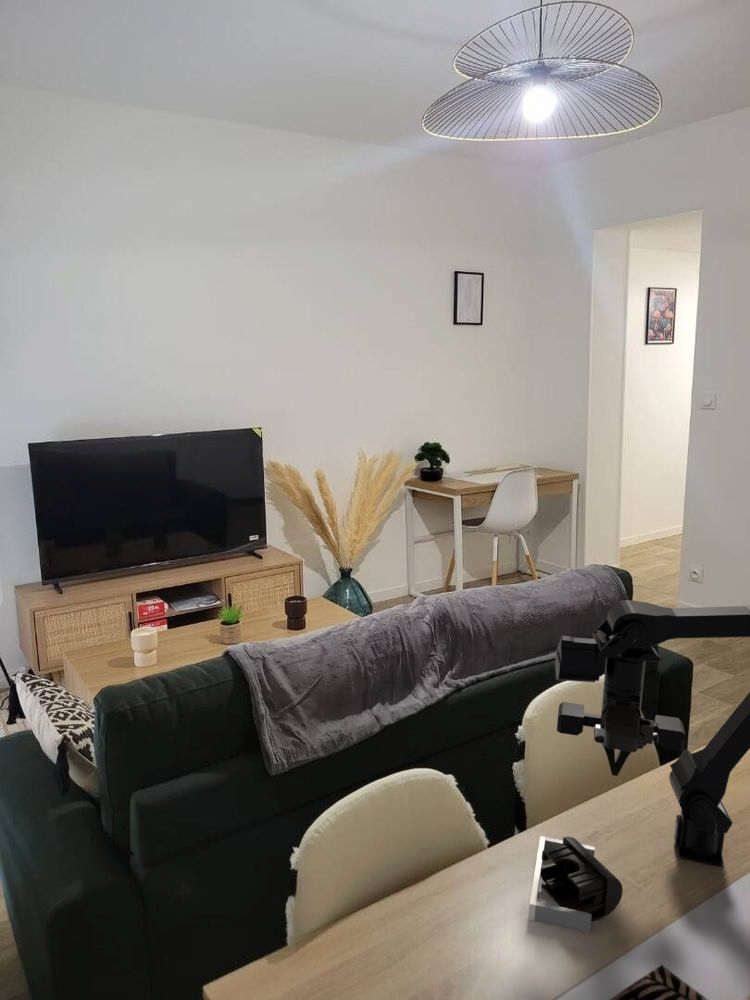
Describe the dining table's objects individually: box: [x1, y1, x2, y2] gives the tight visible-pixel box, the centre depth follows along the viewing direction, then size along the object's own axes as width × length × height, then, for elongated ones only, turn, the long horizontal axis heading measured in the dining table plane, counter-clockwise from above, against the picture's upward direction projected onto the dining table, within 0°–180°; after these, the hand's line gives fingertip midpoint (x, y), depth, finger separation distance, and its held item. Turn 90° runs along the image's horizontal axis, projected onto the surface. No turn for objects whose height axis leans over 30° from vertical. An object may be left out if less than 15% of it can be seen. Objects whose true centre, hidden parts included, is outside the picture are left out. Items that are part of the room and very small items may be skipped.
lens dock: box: [528, 835, 596, 934], centre depth 114 cm, size 8×16×2 cm, turn 163°
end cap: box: [540, 836, 624, 923], centre depth 112 cm, size 10×7×7 cm
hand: (614, 774), depth 123 cm, fingers closed
